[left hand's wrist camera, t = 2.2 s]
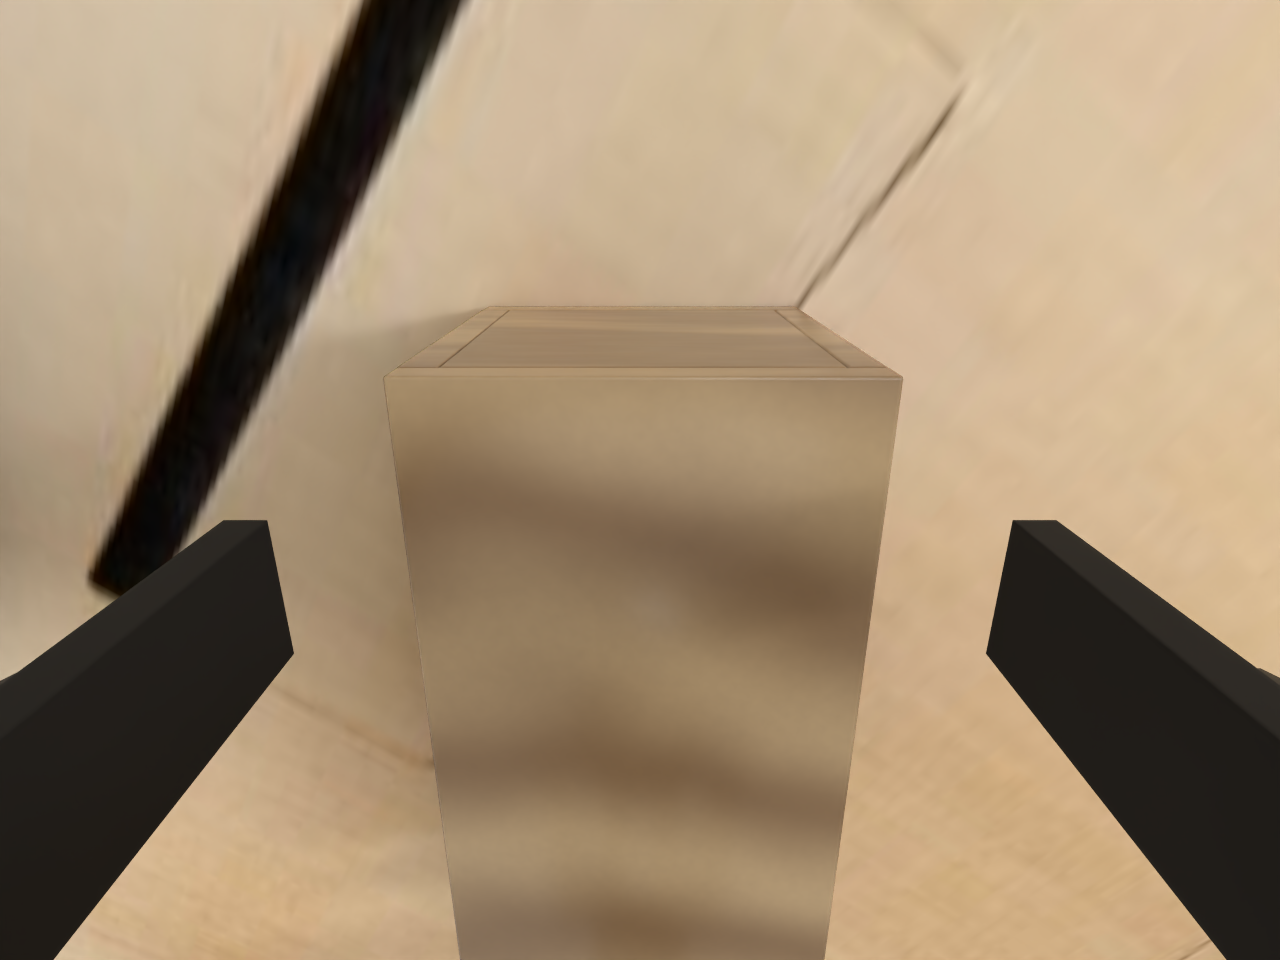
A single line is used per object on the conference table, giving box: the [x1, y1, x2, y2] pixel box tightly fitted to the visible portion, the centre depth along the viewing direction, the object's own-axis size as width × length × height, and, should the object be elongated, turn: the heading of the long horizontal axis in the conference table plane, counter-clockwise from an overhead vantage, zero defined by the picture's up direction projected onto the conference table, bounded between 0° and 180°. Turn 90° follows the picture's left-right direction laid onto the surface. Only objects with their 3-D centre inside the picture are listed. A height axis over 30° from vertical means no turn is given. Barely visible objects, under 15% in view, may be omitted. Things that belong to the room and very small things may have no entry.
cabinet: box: [383, 307, 903, 960], centre depth 22 cm, size 21×10×10 cm, turn 0°
